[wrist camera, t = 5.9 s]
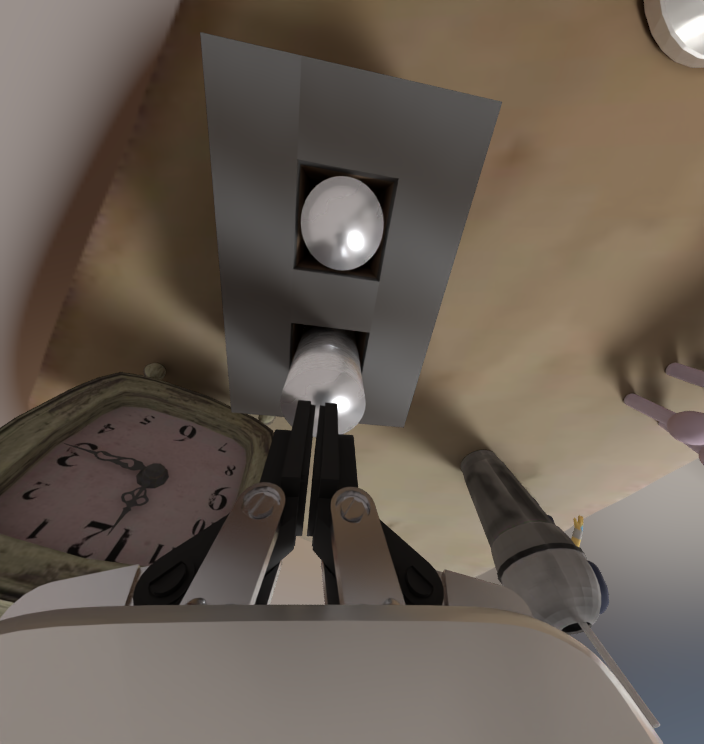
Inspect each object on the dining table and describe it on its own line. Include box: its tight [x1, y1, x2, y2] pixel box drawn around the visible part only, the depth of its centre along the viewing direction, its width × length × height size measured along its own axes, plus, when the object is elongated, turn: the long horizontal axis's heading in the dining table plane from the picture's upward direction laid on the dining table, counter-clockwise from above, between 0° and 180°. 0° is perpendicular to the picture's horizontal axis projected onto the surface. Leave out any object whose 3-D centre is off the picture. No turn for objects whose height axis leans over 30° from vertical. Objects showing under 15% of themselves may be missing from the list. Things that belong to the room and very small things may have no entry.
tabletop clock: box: [0, 363, 275, 618], centre depth 17 cm, size 14×9×25 cm, turn 60°
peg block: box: [200, 32, 502, 427], centre depth 18 cm, size 18×12×8 cm
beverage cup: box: [461, 450, 660, 728], centre depth 24 cm, size 7×7×20 cm
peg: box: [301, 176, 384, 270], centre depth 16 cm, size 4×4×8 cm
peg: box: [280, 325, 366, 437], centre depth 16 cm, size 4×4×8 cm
